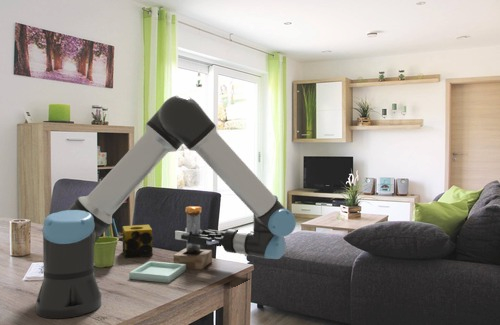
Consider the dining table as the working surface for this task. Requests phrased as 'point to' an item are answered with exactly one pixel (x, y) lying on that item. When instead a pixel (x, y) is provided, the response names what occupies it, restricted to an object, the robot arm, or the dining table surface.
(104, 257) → the plant pot
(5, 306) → the dining table surface
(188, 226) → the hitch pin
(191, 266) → the socket collar
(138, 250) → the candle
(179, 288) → the dining table surface
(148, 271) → the tray
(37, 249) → the dining table surface
